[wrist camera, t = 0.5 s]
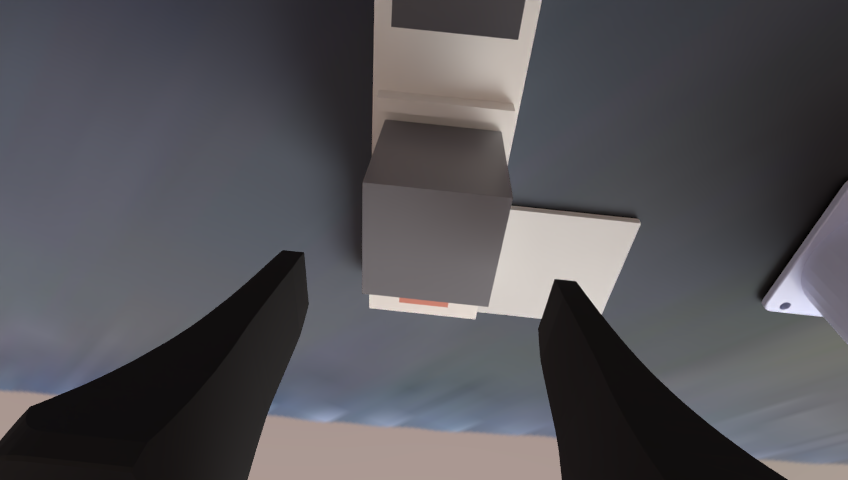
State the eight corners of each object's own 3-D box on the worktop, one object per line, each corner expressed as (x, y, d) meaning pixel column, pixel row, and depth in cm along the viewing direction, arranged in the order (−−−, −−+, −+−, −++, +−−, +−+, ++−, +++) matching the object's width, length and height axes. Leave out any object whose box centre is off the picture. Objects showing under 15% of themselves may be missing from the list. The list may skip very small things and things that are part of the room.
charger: (501, 131, 18) (512, 198, 14) (482, 228, 20) (487, 308, 16) (385, 119, 18) (362, 182, 14) (381, 218, 21) (361, 295, 16)
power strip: (570, -202, 14) (619, -250, 10) (474, 286, 26) (476, 366, 21) (390, -220, 14) (356, -278, 10) (376, 276, 26) (358, 354, 21)
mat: (638, 218, 23) (640, 223, 22) (595, 319, 27) (597, 324, 26) (495, 203, 23) (496, 208, 22) (474, 306, 27) (474, 311, 26)
